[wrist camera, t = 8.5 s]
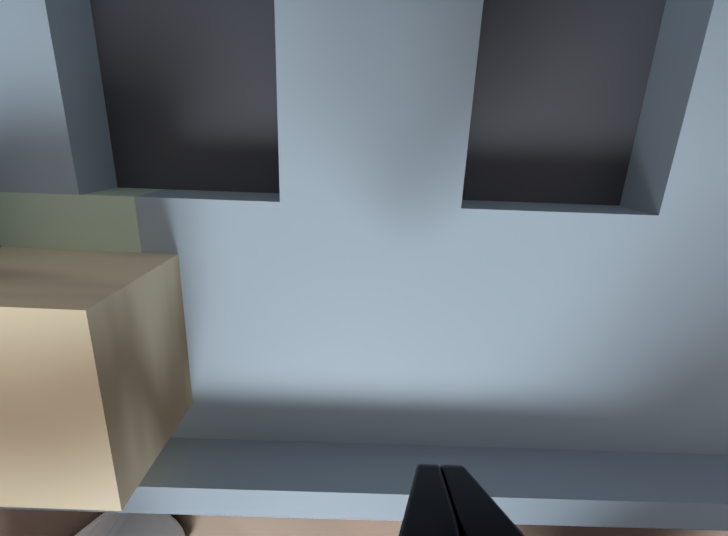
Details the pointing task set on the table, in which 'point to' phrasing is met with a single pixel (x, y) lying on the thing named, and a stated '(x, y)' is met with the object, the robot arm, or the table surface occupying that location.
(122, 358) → the beech block
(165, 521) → the photo printer
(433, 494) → the robot arm
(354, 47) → the box
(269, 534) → the table surface
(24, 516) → the table surface
